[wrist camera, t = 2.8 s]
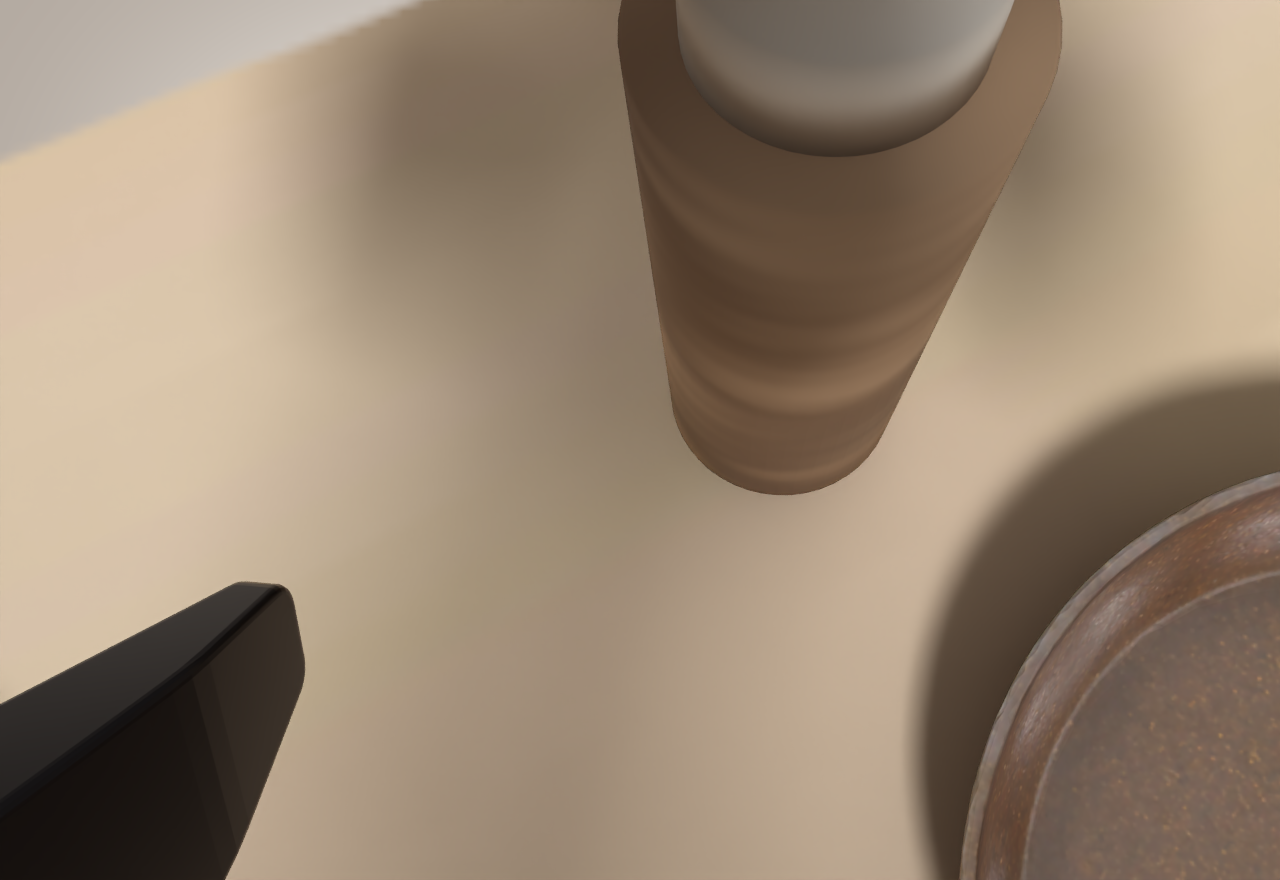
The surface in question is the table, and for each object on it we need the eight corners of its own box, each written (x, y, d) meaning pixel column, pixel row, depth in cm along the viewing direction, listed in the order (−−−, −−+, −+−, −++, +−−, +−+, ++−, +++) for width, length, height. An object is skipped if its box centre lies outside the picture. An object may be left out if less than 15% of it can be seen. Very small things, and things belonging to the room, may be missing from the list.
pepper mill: (938, 396, 22) (1224, -88, 10) (775, 541, 22) (846, 229, 9) (785, 250, 24) (854, -341, 11) (627, 382, 23) (503, -85, 10)
